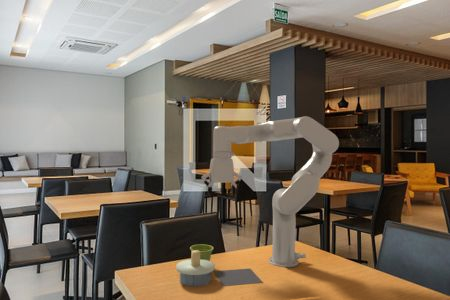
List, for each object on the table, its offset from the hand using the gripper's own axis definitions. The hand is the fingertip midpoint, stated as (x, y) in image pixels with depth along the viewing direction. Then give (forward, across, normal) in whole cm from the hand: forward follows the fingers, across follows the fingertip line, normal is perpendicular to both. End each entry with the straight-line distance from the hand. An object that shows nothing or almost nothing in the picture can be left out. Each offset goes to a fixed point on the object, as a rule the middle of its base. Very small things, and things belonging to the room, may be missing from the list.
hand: (221, 196), depth 151 cm
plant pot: (+28, +9, +6) cm, 31 cm away
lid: (+23, +14, +18) cm, 33 cm away
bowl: (+28, +14, +18) cm, 37 cm away
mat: (+28, -2, +18) cm, 34 cm away
